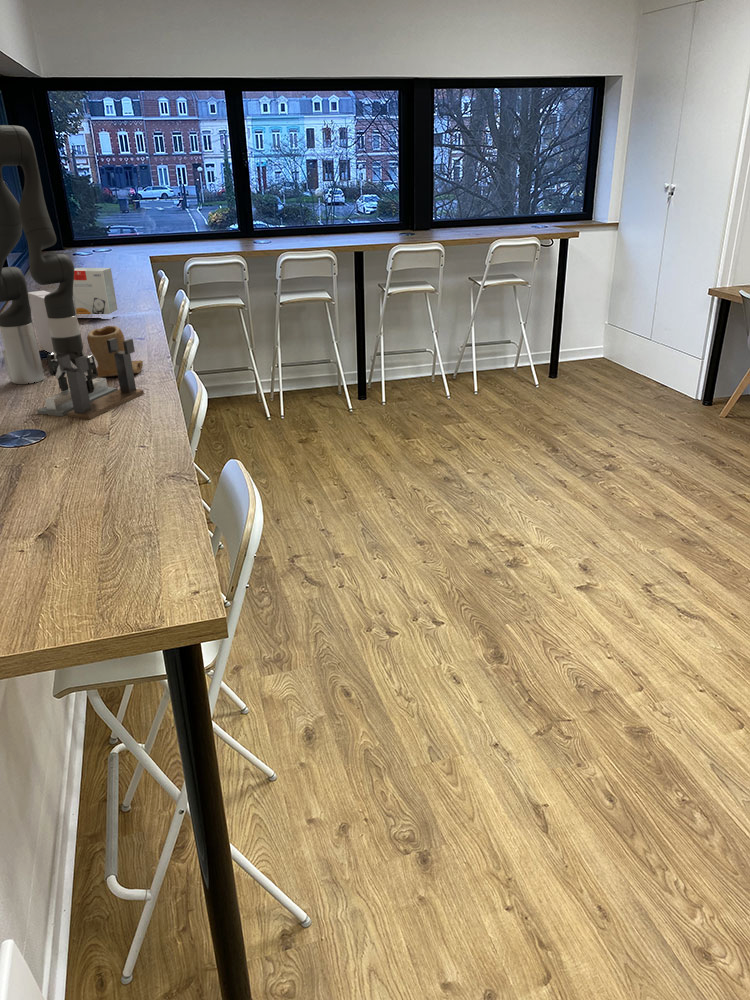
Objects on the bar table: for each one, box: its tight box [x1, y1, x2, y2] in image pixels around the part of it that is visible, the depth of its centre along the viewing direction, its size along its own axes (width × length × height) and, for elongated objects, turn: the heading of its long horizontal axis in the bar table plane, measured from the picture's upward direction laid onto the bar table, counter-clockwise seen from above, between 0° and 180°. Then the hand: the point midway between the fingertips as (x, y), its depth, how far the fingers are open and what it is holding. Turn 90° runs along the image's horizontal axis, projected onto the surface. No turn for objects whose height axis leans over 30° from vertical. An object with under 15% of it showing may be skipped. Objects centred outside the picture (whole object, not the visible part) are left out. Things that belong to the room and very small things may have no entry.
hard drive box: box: [73, 267, 119, 314], centre depth 312 cm, size 16×8×20 cm, turn 81°
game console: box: [28, 290, 86, 356], centre depth 254 cm, size 6×27×20 cm, turn 41°
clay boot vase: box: [86, 325, 144, 378], centre depth 229 cm, size 15×12×15 cm
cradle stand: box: [58, 338, 145, 420], centre depth 201 cm, size 7×23×16 cm, turn 160°
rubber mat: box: [36, 386, 118, 417], centre depth 207 cm, size 8×23×1 cm, turn 160°
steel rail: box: [44, 377, 109, 411], centre depth 207 cm, size 3×21×3 cm, turn 160°
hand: (77, 391), depth 206 cm, fingers open, 8 cm apart
